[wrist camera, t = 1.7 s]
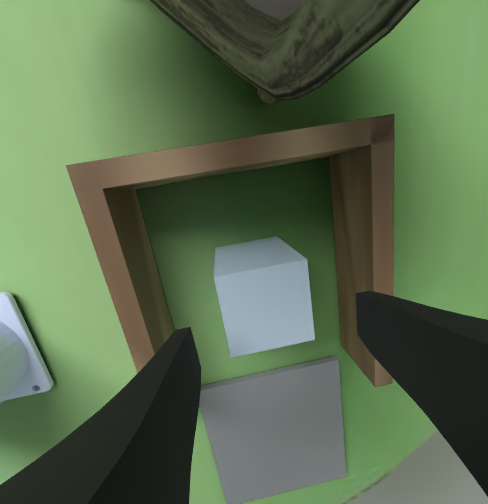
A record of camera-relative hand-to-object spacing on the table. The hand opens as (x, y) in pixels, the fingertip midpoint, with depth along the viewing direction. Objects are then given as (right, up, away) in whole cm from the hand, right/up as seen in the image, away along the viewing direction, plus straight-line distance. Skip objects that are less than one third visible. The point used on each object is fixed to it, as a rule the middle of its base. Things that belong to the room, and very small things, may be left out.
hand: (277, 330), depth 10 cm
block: (-1, +2, +7) cm, 8 cm away
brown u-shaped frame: (-1, +2, +7) cm, 8 cm away
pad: (+2, -13, +12) cm, 18 cm away
